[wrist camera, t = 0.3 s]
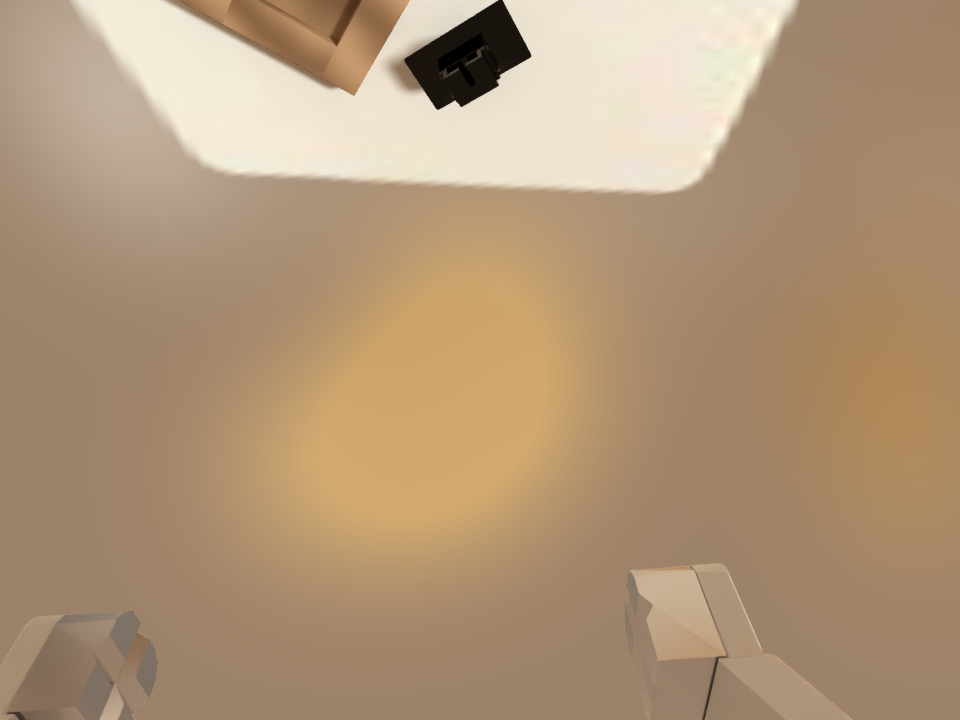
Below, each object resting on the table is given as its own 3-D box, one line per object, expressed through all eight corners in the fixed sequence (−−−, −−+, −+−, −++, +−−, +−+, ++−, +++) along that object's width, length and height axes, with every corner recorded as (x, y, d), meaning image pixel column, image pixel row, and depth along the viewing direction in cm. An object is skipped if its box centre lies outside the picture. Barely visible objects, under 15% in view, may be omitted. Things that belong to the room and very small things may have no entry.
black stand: (513, -24, 52) (521, 2, 50) (551, 54, 58) (560, 81, 55) (382, 58, 56) (382, 86, 54) (428, 124, 62) (430, 153, 59)
